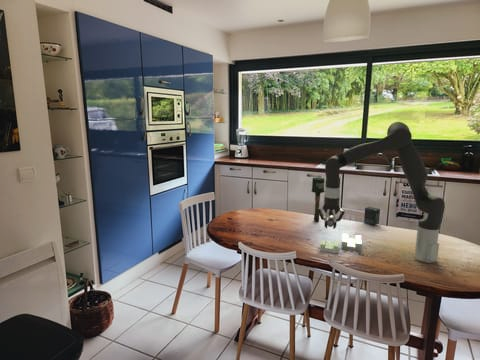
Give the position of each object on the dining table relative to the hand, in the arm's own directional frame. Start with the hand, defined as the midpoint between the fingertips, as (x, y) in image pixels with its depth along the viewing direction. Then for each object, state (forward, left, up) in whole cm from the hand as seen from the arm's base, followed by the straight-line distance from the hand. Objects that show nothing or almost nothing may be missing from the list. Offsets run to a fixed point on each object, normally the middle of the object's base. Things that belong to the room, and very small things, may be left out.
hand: (330, 227), depth 166 cm
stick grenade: (+44, -28, -15) cm, 54 cm away
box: (+24, -58, -15) cm, 65 cm away
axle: (+5, -5, +1) cm, 7 cm away
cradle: (+5, -5, -15) cm, 16 cm away
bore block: (+3, -19, -15) cm, 24 cm away
